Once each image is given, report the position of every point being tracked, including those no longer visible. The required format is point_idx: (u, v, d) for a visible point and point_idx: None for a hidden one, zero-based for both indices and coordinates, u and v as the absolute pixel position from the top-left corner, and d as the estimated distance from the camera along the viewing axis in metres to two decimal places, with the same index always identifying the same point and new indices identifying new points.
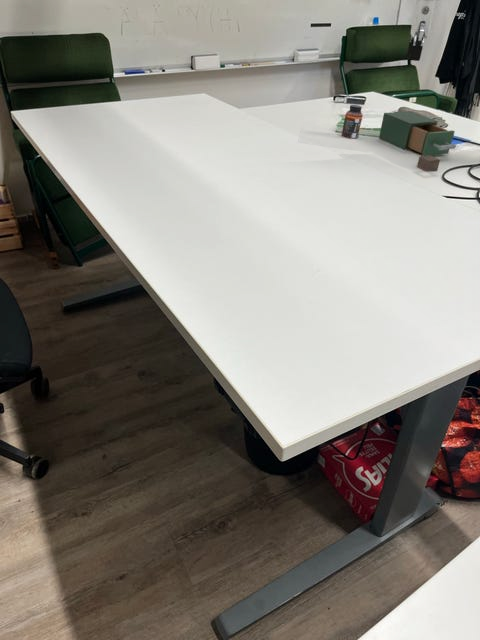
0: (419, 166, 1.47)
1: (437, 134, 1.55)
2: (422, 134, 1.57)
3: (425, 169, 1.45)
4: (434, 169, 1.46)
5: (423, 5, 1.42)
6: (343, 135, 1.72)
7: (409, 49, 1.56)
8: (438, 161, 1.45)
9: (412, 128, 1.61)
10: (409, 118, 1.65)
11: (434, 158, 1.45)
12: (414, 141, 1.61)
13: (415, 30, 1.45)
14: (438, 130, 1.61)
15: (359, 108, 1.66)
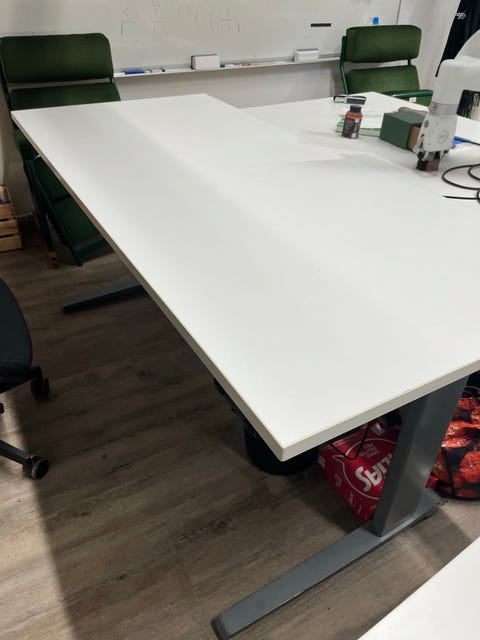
0: None
1: None
2: None
3: (425, 169, 1.45)
4: (434, 169, 1.46)
5: (426, 119, 1.38)
6: (343, 135, 1.72)
7: None
8: (438, 161, 1.45)
9: (412, 128, 1.61)
10: (409, 118, 1.65)
11: (434, 158, 1.45)
12: (414, 141, 1.61)
13: (417, 141, 1.42)
14: None
15: (359, 108, 1.66)
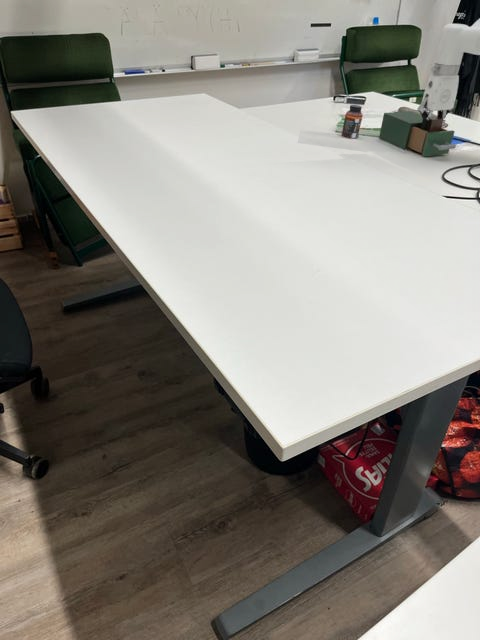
0: None
1: (437, 134, 1.55)
2: (422, 134, 1.57)
3: (429, 128, 1.57)
4: (437, 128, 1.58)
5: (430, 80, 1.50)
6: (343, 135, 1.72)
7: None
8: (441, 120, 1.57)
9: (412, 128, 1.61)
10: (409, 118, 1.65)
11: (437, 118, 1.57)
12: (414, 141, 1.61)
13: (422, 101, 1.54)
14: None
15: (359, 108, 1.66)
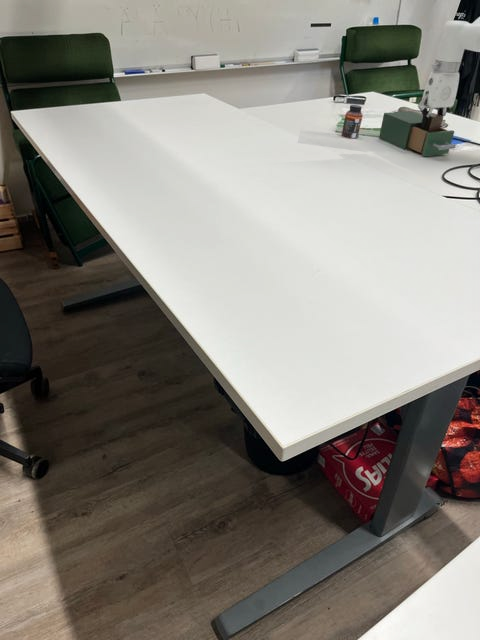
0: None
1: (437, 134, 1.55)
2: (422, 134, 1.57)
3: (429, 125, 1.57)
4: (437, 125, 1.58)
5: (430, 76, 1.49)
6: (343, 135, 1.72)
7: None
8: (441, 118, 1.56)
9: (411, 128, 1.61)
10: (409, 118, 1.65)
11: (437, 115, 1.57)
12: (414, 141, 1.61)
13: (422, 98, 1.54)
14: (438, 130, 1.61)
15: (359, 108, 1.66)
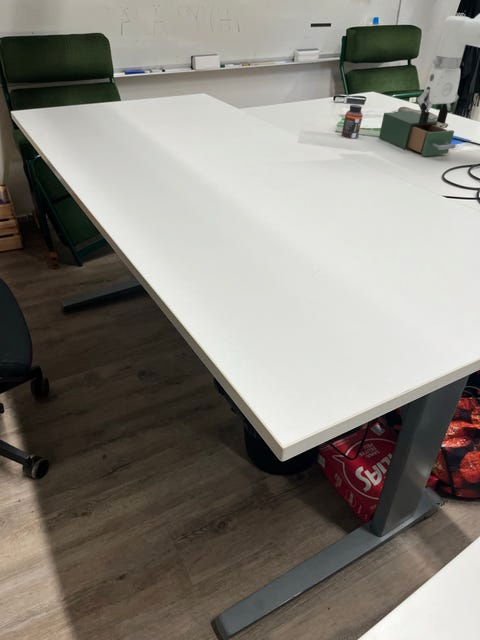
0: None
1: (437, 134, 1.55)
2: (422, 134, 1.57)
3: None
4: None
5: (431, 72, 1.49)
6: (343, 135, 1.72)
7: (438, 115, 1.60)
8: None
9: (411, 127, 1.61)
10: (409, 118, 1.65)
11: None
12: (414, 141, 1.61)
13: None
14: (438, 130, 1.61)
15: (359, 108, 1.66)
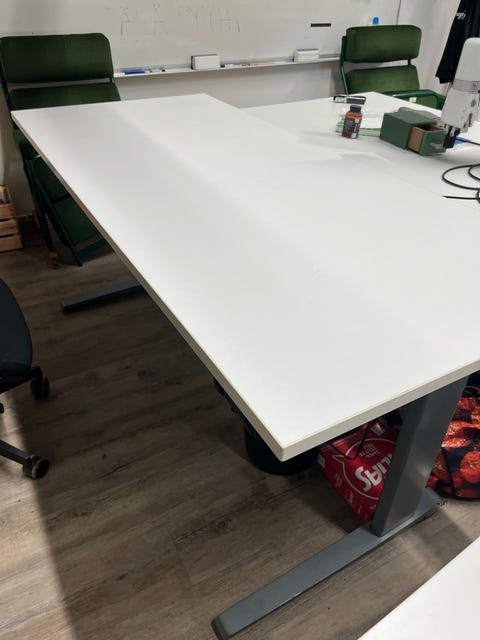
0: None
1: (434, 133, 1.56)
2: (420, 133, 1.58)
3: None
4: None
5: (472, 99, 1.42)
6: (343, 135, 1.72)
7: None
8: None
9: None
10: (409, 118, 1.65)
11: None
12: (411, 140, 1.62)
13: (464, 122, 1.45)
14: (435, 129, 1.62)
15: (359, 108, 1.66)
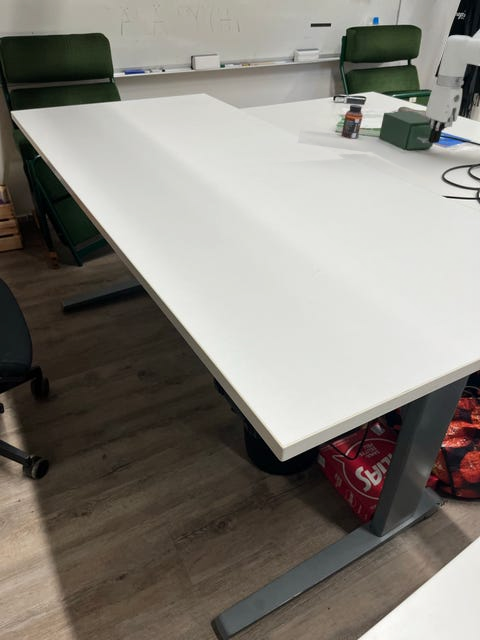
0: None
1: (421, 127, 1.61)
2: None
3: None
4: None
5: (455, 94, 1.47)
6: (343, 135, 1.72)
7: None
8: None
9: None
10: (409, 118, 1.65)
11: None
12: None
13: (448, 116, 1.50)
14: None
15: (359, 108, 1.66)
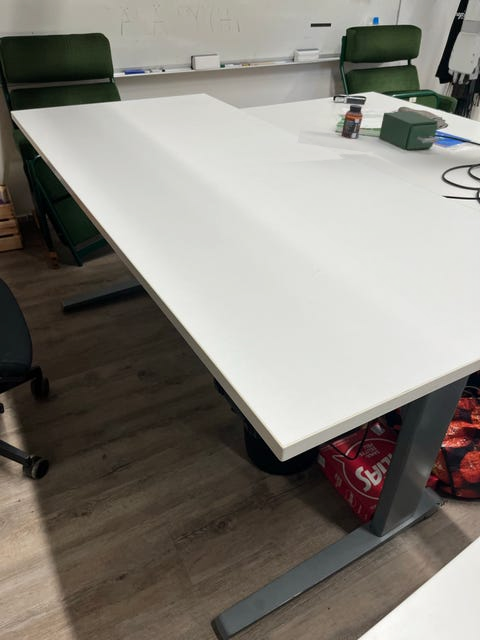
0: None
1: (421, 127, 1.61)
2: None
3: None
4: None
5: None
6: (343, 135, 1.72)
7: (454, 90, 1.46)
8: None
9: None
10: (409, 118, 1.65)
11: None
12: None
13: (473, 66, 1.38)
14: None
15: (359, 108, 1.66)
